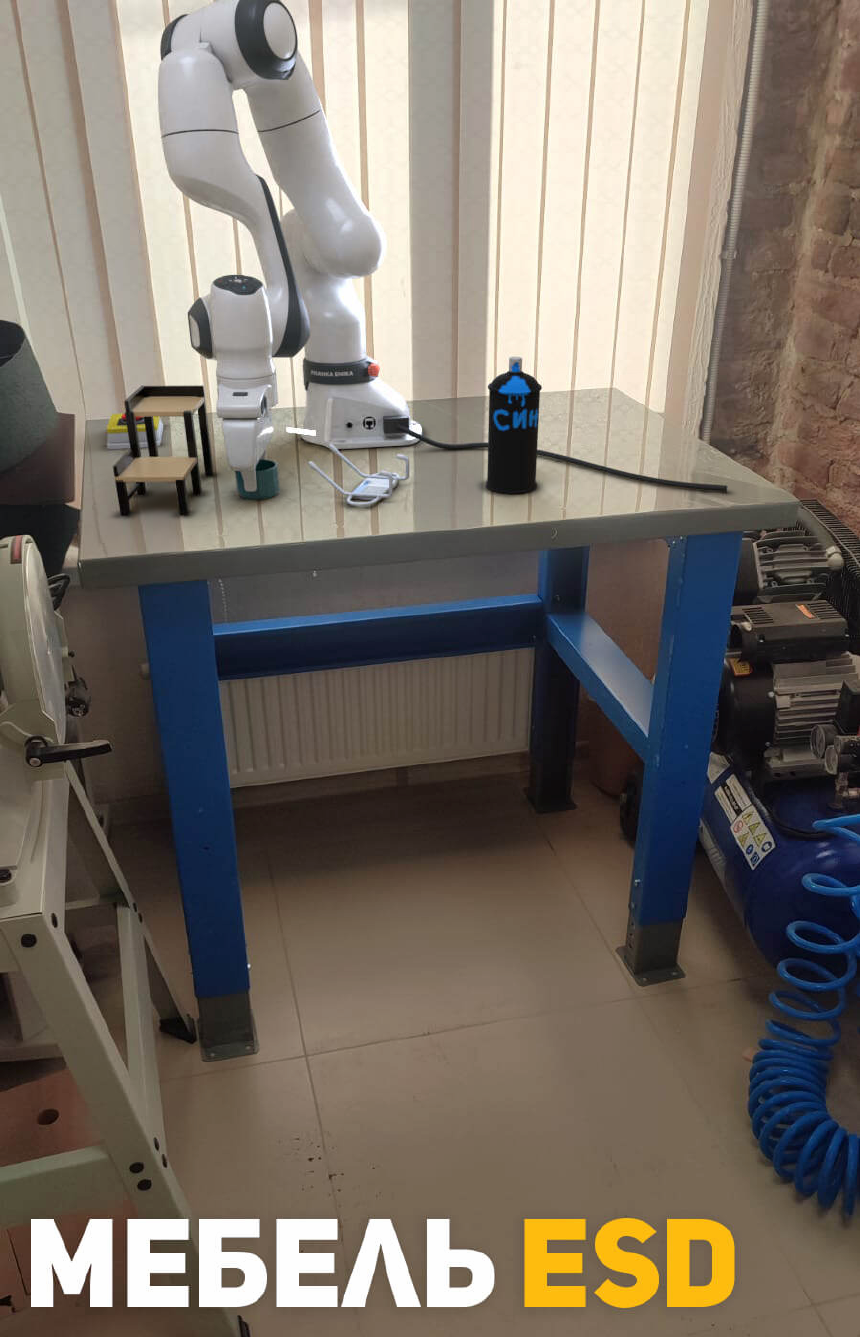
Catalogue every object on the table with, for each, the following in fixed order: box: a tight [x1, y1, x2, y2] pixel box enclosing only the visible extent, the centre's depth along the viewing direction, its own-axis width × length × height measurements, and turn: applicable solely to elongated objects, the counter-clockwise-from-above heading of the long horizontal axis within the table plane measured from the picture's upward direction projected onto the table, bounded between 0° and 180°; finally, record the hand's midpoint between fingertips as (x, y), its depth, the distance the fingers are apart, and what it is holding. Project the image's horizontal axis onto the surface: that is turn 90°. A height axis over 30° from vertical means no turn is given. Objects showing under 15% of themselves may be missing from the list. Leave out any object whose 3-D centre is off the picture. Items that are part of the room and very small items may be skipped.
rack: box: [112, 385, 215, 517], centre depth 154 cm, size 10×20×15 cm, turn 0°
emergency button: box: [106, 413, 164, 450], centre depth 186 cm, size 9×4×15 cm
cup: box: [234, 459, 281, 501], centre depth 156 cm, size 7×7×5 cm
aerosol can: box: [485, 356, 543, 495], centre depth 155 cm, size 8×8×20 cm
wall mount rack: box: [307, 444, 410, 507], centre depth 157 cm, size 16×14×6 cm
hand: (255, 482), depth 156 cm, fingers closed on cup, 6 cm apart
